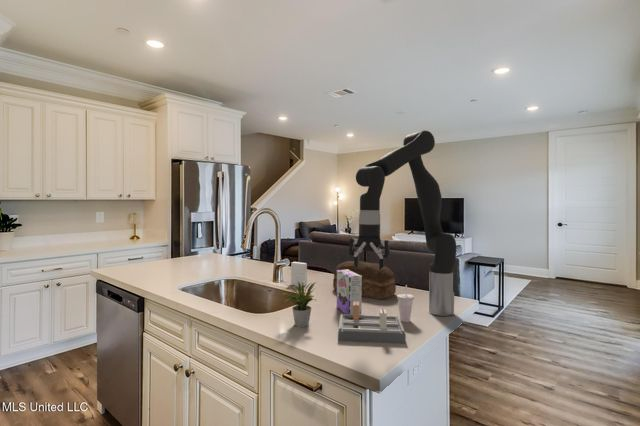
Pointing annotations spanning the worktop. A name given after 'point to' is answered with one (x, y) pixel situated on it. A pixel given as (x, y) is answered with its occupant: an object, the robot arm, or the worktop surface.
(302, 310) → the house plant
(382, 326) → the fader near
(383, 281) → the bread
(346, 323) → the console
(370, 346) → the worktop surface
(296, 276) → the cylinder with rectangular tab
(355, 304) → the block
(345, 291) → the candy box
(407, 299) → the smoothie
